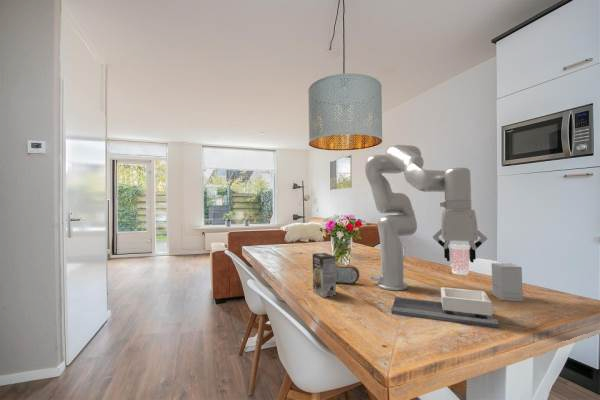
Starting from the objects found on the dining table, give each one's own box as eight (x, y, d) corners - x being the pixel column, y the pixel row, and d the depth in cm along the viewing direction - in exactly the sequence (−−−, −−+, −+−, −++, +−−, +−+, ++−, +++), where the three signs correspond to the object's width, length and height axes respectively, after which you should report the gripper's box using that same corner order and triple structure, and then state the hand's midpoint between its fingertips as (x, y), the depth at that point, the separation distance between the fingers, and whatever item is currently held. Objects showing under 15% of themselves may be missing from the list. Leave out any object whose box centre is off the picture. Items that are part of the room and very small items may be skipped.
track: (391, 313, 95) (391, 307, 95) (395, 301, 106) (394, 296, 106) (498, 327, 83) (498, 321, 83) (489, 313, 93) (489, 307, 94)
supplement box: (523, 301, 104) (522, 267, 104) (501, 300, 105) (500, 266, 105) (512, 295, 111) (511, 263, 111) (491, 294, 112) (490, 262, 113)
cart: (442, 316, 89) (442, 297, 89) (441, 304, 99) (440, 287, 99) (492, 322, 84) (491, 302, 84) (484, 309, 94) (484, 291, 94)
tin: (359, 283, 131) (359, 265, 132) (358, 285, 128) (358, 266, 129) (328, 281, 136) (327, 263, 136) (326, 282, 133) (326, 265, 133)
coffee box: (312, 291, 120) (311, 253, 120) (325, 289, 123) (325, 252, 123) (322, 298, 112) (321, 257, 112) (336, 295, 114) (335, 255, 115)
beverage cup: (465, 271, 95) (464, 229, 95) (474, 275, 88) (473, 230, 89) (446, 271, 95) (445, 229, 95) (454, 275, 89) (453, 231, 89)
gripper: (429, 206, 92) (430, 261, 92) (491, 205, 85) (493, 265, 85) (428, 206, 99) (430, 257, 99) (486, 205, 92) (488, 260, 92)
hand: (459, 260), depth 92 cm, fingers closed on beverage cup, 6 cm apart
